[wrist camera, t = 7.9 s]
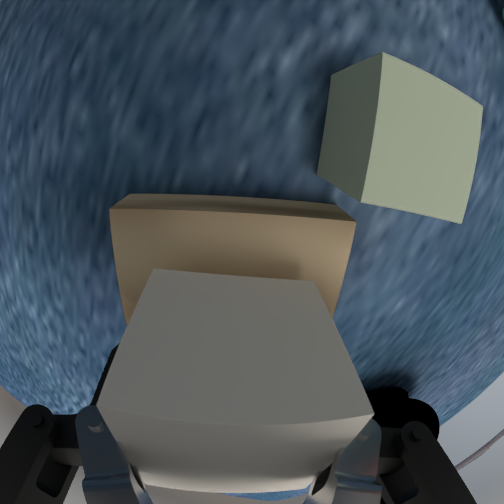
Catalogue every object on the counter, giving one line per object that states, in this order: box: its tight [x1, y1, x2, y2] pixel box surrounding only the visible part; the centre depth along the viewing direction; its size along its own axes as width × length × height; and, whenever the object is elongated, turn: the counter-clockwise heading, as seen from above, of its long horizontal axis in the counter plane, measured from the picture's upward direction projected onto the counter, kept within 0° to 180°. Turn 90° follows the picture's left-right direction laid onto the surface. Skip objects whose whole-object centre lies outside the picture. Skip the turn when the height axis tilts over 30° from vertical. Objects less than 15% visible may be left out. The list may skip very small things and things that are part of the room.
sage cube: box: [317, 52, 483, 224], centre depth 10 cm, size 5×5×5 cm
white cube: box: [96, 268, 374, 493], centre depth 9 cm, size 6×6×6 cm
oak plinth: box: [109, 194, 357, 325], centre depth 14 cm, size 10×10×3 cm
